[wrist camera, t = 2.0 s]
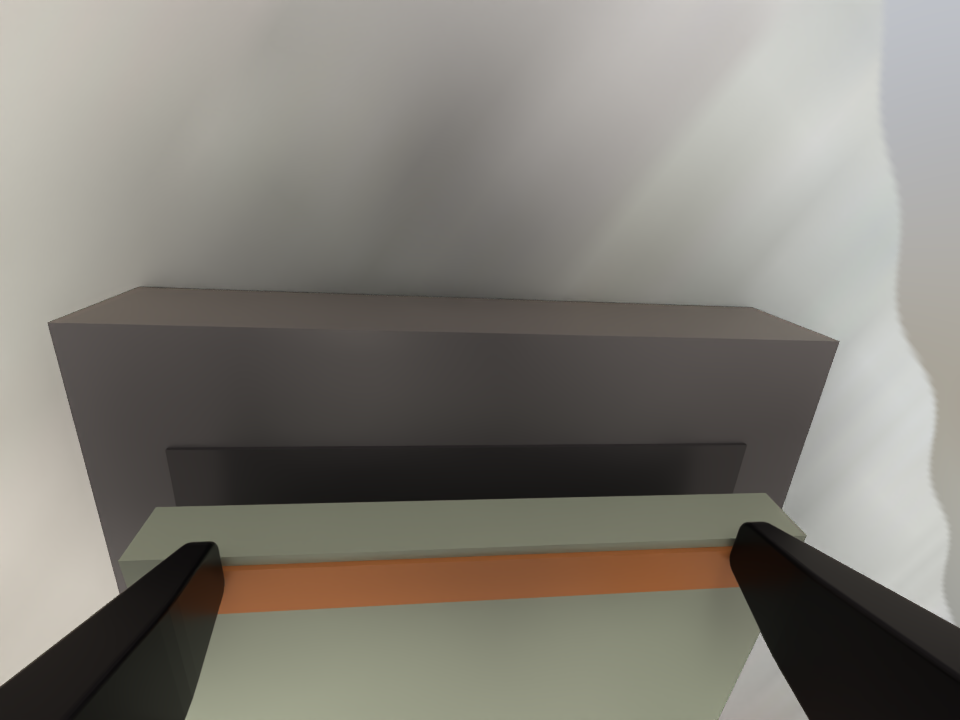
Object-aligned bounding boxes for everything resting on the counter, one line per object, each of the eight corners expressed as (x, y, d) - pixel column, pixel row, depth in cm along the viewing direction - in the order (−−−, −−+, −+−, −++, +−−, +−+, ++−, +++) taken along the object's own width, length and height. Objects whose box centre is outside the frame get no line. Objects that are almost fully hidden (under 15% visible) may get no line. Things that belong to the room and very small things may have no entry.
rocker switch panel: (630, 759, 20) (665, 854, 18) (236, 799, 18) (202, 915, 15) (752, 307, 13) (843, 342, 11) (138, 286, 11) (43, 324, 8)
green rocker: (679, 644, 13) (719, 724, 12) (222, 676, 12) (187, 774, 10) (745, 471, 11) (810, 539, 9) (173, 481, 9) (113, 566, 7)
